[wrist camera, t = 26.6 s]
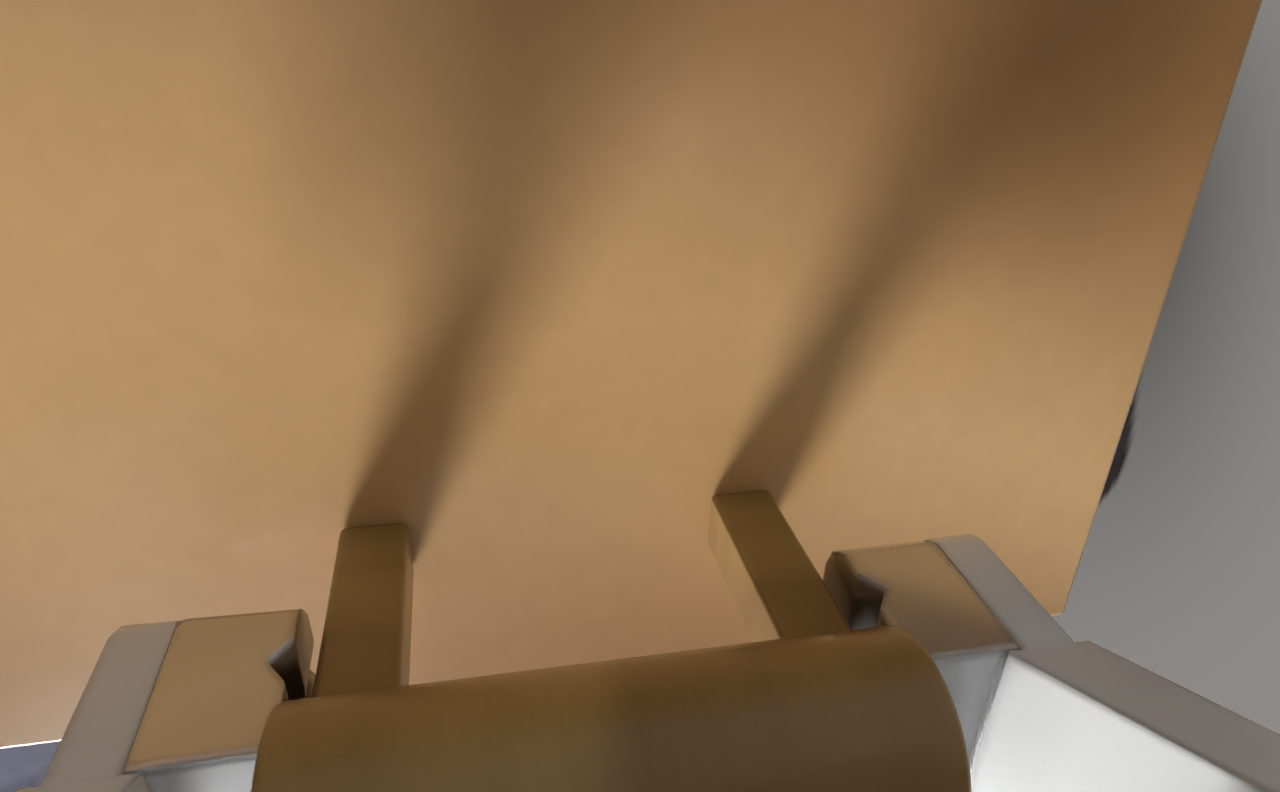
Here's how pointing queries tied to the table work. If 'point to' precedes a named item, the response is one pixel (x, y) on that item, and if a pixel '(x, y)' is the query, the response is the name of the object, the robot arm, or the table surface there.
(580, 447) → the lid
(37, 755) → the table surface
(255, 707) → the robot arm
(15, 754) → the table surface
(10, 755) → the table surface
